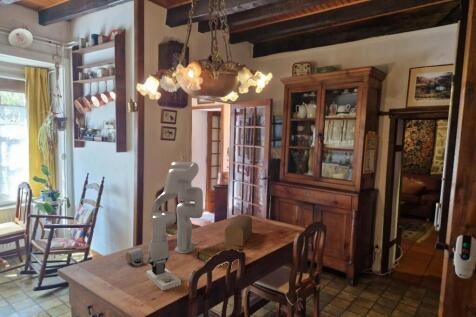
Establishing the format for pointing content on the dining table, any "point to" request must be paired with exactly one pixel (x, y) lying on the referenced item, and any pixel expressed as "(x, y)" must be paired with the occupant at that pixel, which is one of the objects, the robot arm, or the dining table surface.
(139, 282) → the dining table surface
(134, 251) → the ceramic mug
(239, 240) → the bread
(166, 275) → the jack panel
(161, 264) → the plug
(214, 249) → the diary
